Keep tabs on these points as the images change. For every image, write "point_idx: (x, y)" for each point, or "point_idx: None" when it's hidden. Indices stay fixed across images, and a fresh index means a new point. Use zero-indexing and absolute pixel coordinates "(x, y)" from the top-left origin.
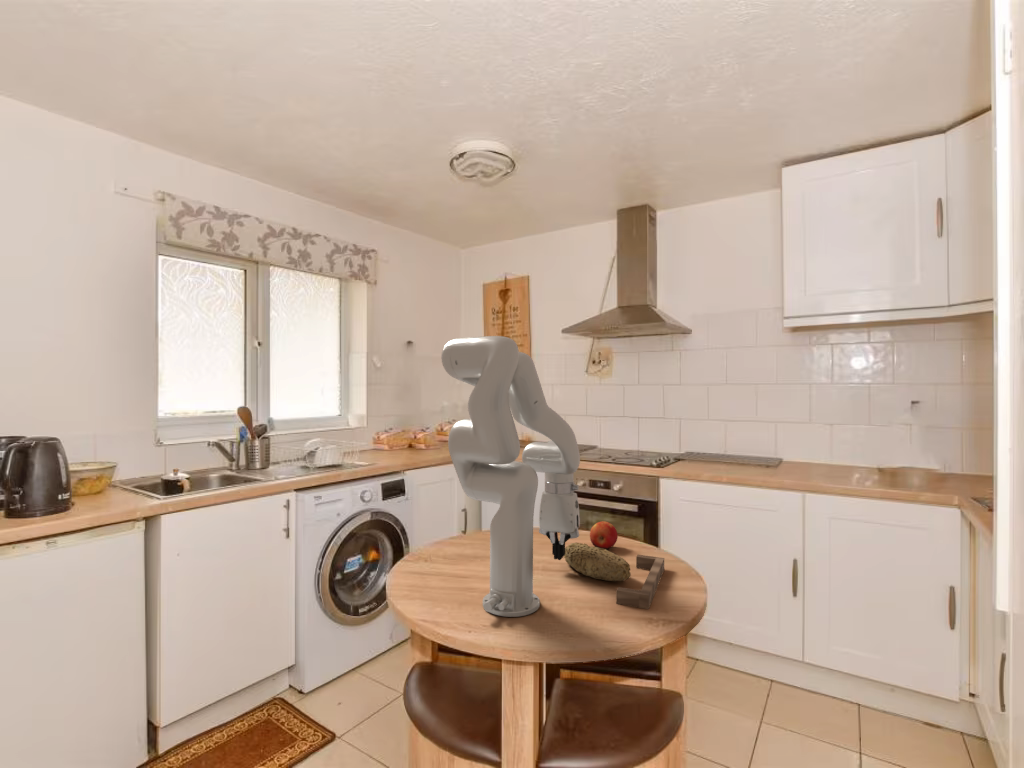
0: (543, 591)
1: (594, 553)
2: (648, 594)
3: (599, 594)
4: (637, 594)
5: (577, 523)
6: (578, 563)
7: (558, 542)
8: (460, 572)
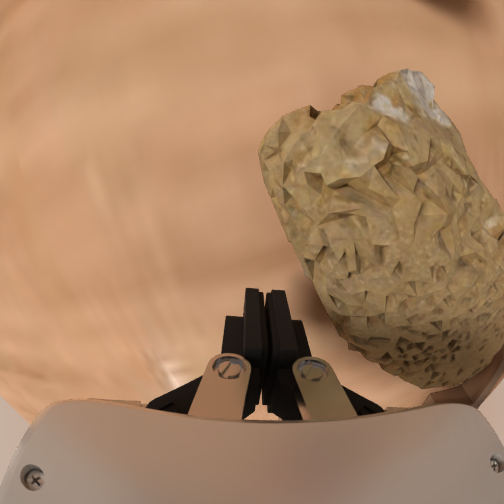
0: None
1: (458, 328)
2: (476, 408)
3: (398, 389)
4: None
5: (490, 437)
6: (370, 359)
7: (257, 367)
8: (14, 351)
